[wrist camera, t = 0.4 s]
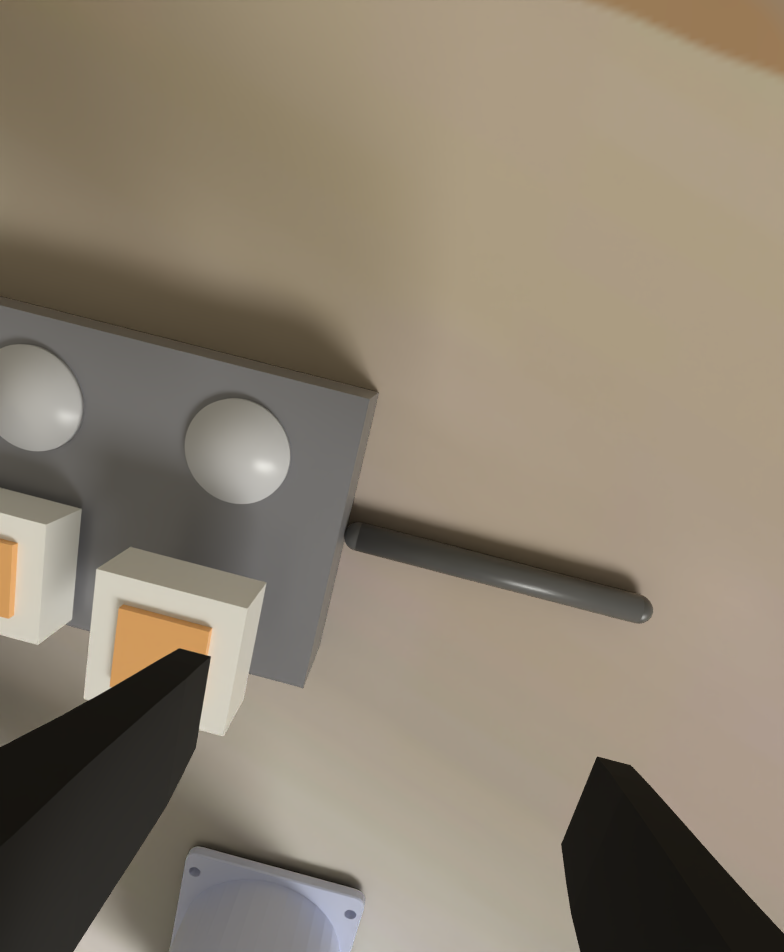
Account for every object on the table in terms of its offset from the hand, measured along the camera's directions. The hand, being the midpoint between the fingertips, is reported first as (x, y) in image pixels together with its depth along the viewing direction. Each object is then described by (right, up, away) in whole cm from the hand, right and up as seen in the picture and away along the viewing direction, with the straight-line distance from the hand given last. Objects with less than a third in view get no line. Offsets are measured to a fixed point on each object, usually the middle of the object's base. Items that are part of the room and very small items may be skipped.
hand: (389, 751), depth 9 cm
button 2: (-12, +3, +7) cm, 14 cm away
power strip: (-6, +4, +9) cm, 12 cm away
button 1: (-6, +1, +6) cm, 8 cm away
